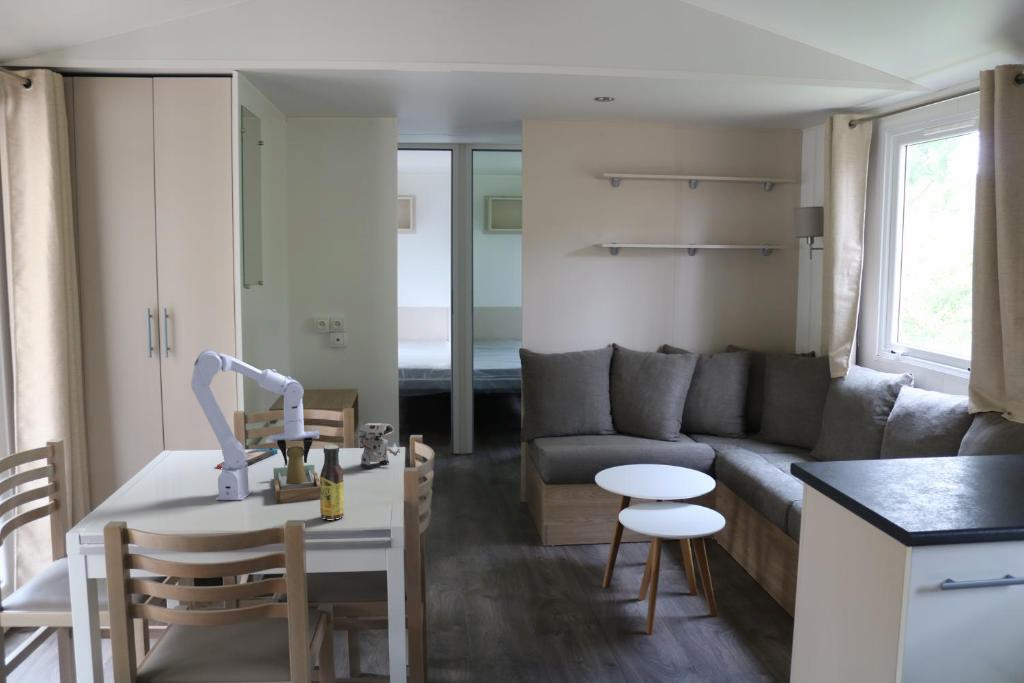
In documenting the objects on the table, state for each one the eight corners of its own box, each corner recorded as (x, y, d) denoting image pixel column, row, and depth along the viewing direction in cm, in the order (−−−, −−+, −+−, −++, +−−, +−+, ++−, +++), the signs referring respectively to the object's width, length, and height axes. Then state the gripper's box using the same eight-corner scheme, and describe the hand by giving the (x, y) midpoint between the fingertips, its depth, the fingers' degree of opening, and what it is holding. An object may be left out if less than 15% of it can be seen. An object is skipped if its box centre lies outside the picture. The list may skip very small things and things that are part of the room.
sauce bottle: (316, 517, 214) (313, 446, 212) (337, 512, 218) (335, 442, 216) (327, 523, 209) (325, 450, 207) (348, 518, 213) (346, 446, 211)
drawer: (319, 487, 239) (318, 477, 239) (275, 492, 235) (275, 481, 235) (313, 471, 257) (313, 461, 257) (273, 475, 253) (272, 465, 253)
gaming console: (255, 447, 289) (279, 447, 286) (256, 454, 289) (280, 454, 286) (213, 464, 266) (239, 464, 263) (214, 471, 266) (240, 471, 263)
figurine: (379, 472, 258) (378, 427, 257) (357, 467, 266) (356, 423, 264) (400, 467, 265) (399, 423, 264) (378, 461, 273) (377, 418, 271)
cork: (296, 483, 236) (295, 446, 237) (281, 484, 239) (280, 447, 240) (310, 481, 241) (309, 445, 242) (296, 482, 244) (295, 446, 245)
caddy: (322, 498, 231) (321, 487, 231) (276, 503, 227) (276, 491, 227) (317, 483, 247) (316, 472, 246) (274, 487, 243) (274, 476, 242)
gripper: (317, 415, 246) (318, 457, 248) (268, 418, 242) (270, 462, 243) (319, 419, 240) (320, 463, 241) (269, 423, 235) (271, 468, 237)
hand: (295, 463), depth 242 cm, fingers open, 5 cm apart
